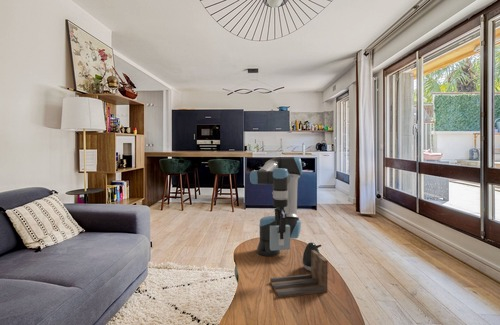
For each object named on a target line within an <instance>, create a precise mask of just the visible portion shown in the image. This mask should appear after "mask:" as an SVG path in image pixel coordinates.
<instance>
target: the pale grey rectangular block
mask: <svg viewBox="0 0 500 325" xmlns="http://www.w3.org/2000/svg"><path fill="white" fill-rule="evenodd" d="M278 232H279V225H273V226H270V250H271V251H274V250H280V251H286V250H289V251H290V250H291V239H290V226H289V225H286V232H284V245H278Z"/></svg>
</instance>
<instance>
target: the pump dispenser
mask: <svg viewBox="0 0 500 325" xmlns="http://www.w3.org/2000/svg"><path fill="white" fill-rule="evenodd" d="M321 247H322V244H317V245H316V243H314V242H308V243H307V244H306V245H305V247H304V250H303V254H302V260H301V262H302V264H303V267H304V269H305V270H306V271H309V272H311V250H315V251H317V252H318V253H319V254H320V251H319V248H321ZM320 255H321V254H320Z"/></svg>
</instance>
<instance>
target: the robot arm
mask: <svg viewBox="0 0 500 325" xmlns="http://www.w3.org/2000/svg"><path fill="white" fill-rule="evenodd" d="M301 175H303V165H302V160H301V157H298V156H283V157H282V156H279V157H274V158H270V159H269V160H267V161H266V162H265V163H264V165H263V166H262V167H261V168H260V169H258V170H251V171H250V174H249V181H250V184H253V185H272V192H271V194H272V198H273V199H272V206H273V207H274V215H267V216H263V217H261V218H260V219H259V241H258V245H257V248H256V253H257V254H258V255H260V256H264V257H275V256H278V255H279V254H280V253H281V250H274V251H271V250H270V226H273V225H279V232H278V245H284V232H286V225H289V226H290V240H291V239H292V240H293V239H295V240H297V239H298V238H299V236H300V232H301V227H302V220H300V217H299V216H298V215H297V213H298V212H297V210H298V182H299V179H300V178H301Z"/></svg>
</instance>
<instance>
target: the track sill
mask: <svg viewBox="0 0 500 325" xmlns="http://www.w3.org/2000/svg"><path fill="white" fill-rule="evenodd" d="M319 253H320V252H319ZM319 253H318V252H317V251H315V250H311V271H310V273H309V274H308V273H306V274H299V275H288V276H279V277H270V280H269V283H270V285H271V287H272V288H273V290H274V292H275V294H276V295H277V297H278V298H288V297H295V296H304V295H313V294H320V293H321V294H322V293H328V275H329V274H328V270H329V269H328V266H329V264H328V262H329V261H328V259H326V258H325V257H324V256H323V255H321V254H319Z"/></svg>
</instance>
